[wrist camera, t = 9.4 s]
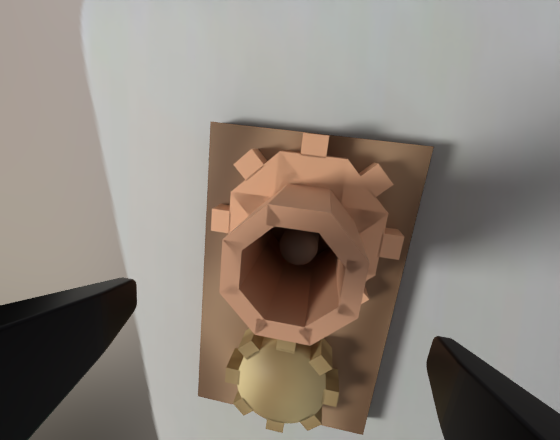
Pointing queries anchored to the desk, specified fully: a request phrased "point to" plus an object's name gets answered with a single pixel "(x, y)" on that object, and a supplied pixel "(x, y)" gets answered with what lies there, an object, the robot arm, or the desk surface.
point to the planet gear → (308, 217)
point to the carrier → (298, 251)
